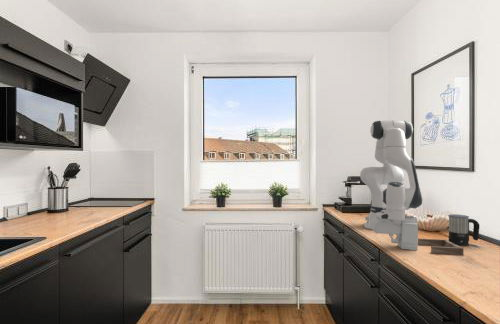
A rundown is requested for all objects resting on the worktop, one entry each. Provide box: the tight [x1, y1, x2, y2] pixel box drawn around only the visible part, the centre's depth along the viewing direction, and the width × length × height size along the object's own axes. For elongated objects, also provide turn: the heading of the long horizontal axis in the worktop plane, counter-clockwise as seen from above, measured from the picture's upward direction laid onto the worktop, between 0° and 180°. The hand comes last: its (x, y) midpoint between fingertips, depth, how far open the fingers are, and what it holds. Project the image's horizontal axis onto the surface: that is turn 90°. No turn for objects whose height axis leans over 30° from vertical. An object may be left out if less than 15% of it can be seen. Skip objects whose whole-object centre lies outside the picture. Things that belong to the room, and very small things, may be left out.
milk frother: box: [448, 213, 480, 246], centre depth 168 cm, size 14×16×15 cm
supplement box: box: [396, 223, 419, 251], centre depth 154 cm, size 7×7×13 cm
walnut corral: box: [418, 237, 465, 256], centre depth 153 cm, size 16×14×3 cm
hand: (394, 242), depth 155 cm, fingers closed
